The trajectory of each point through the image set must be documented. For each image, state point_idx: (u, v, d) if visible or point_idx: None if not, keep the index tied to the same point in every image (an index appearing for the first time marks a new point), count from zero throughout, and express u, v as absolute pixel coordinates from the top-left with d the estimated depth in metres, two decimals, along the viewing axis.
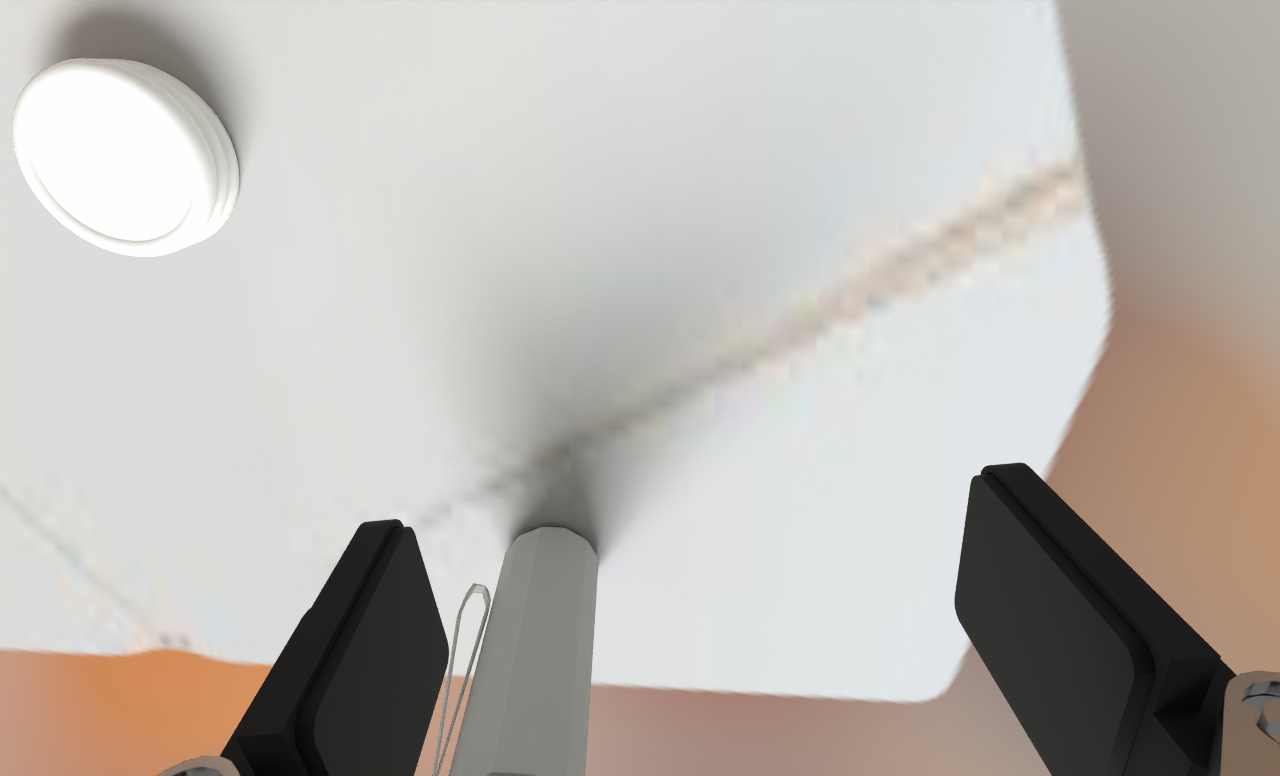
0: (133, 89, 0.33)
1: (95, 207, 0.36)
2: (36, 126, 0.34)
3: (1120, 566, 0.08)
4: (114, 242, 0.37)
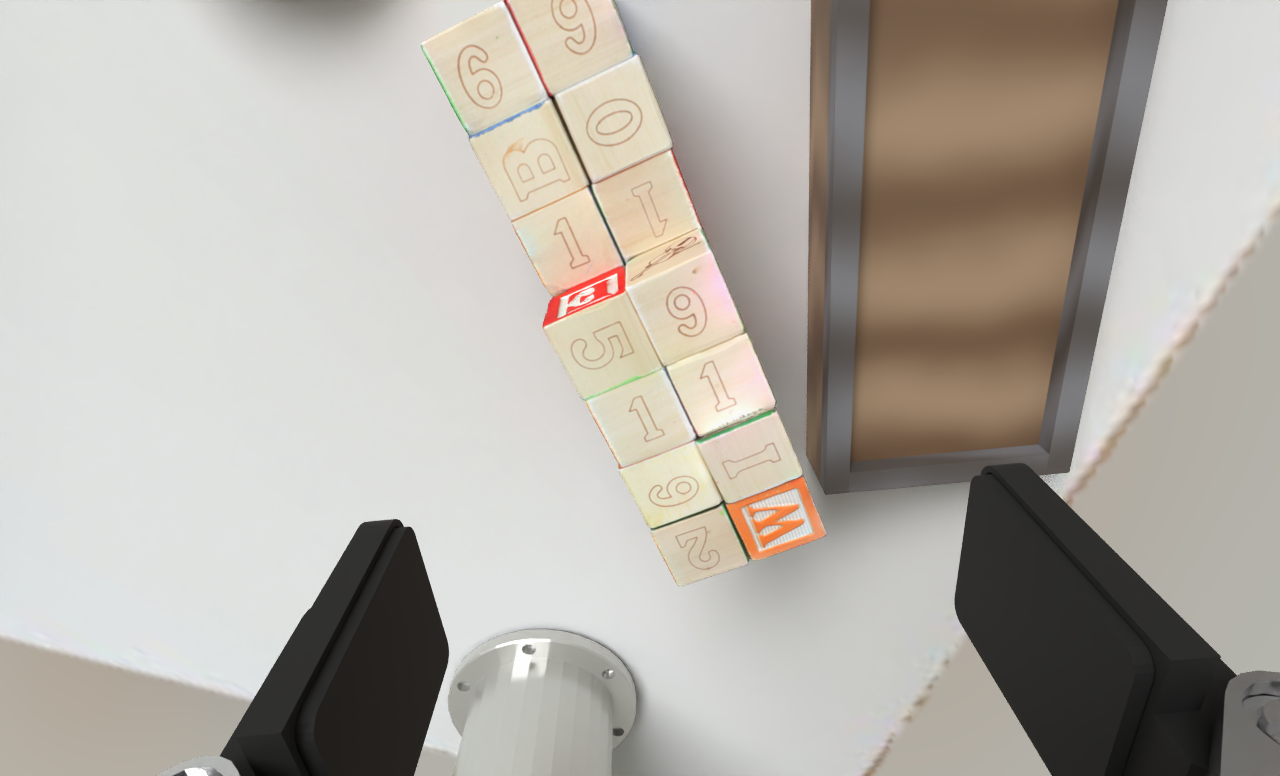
0: None
1: None
2: None
3: (1121, 566, 0.08)
4: None
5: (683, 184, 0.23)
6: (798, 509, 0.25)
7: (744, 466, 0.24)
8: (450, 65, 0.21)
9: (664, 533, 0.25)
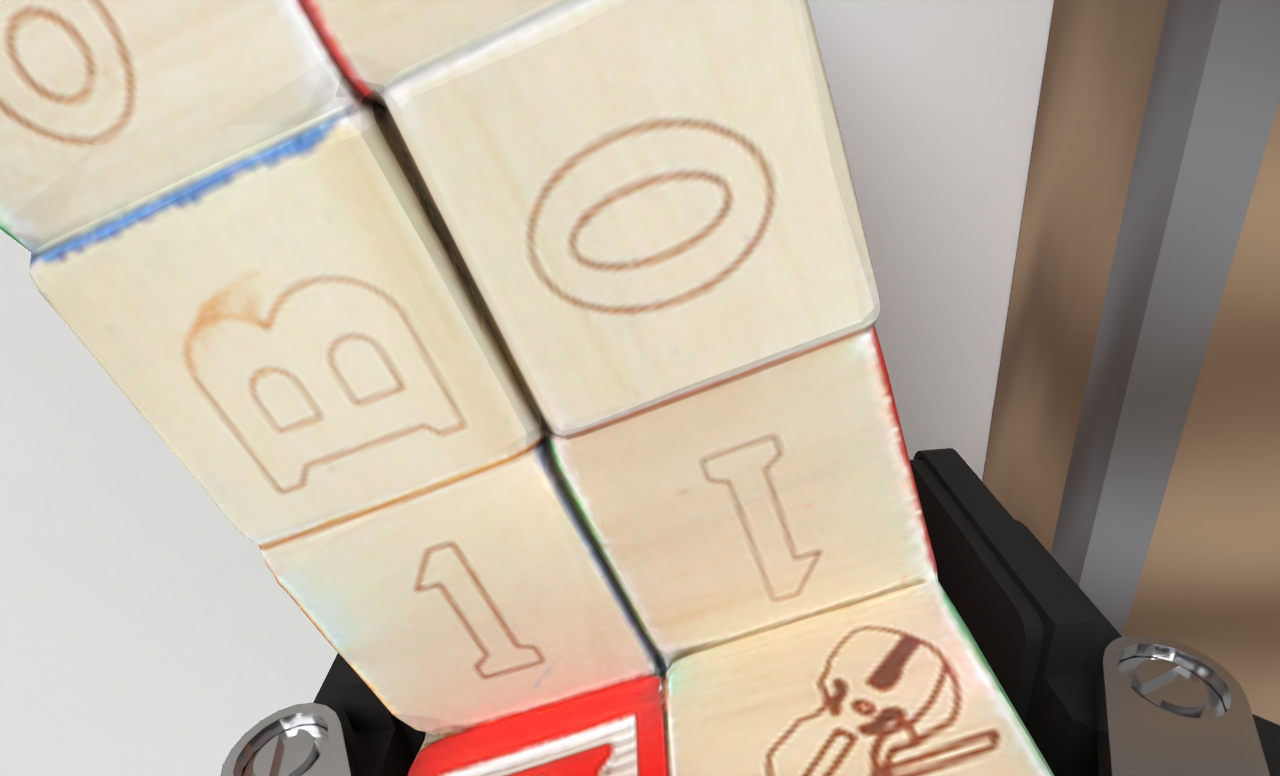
0: None
1: None
2: None
3: (1024, 541, 0.09)
4: None
5: (899, 447, 0.06)
6: None
7: None
8: None
9: None
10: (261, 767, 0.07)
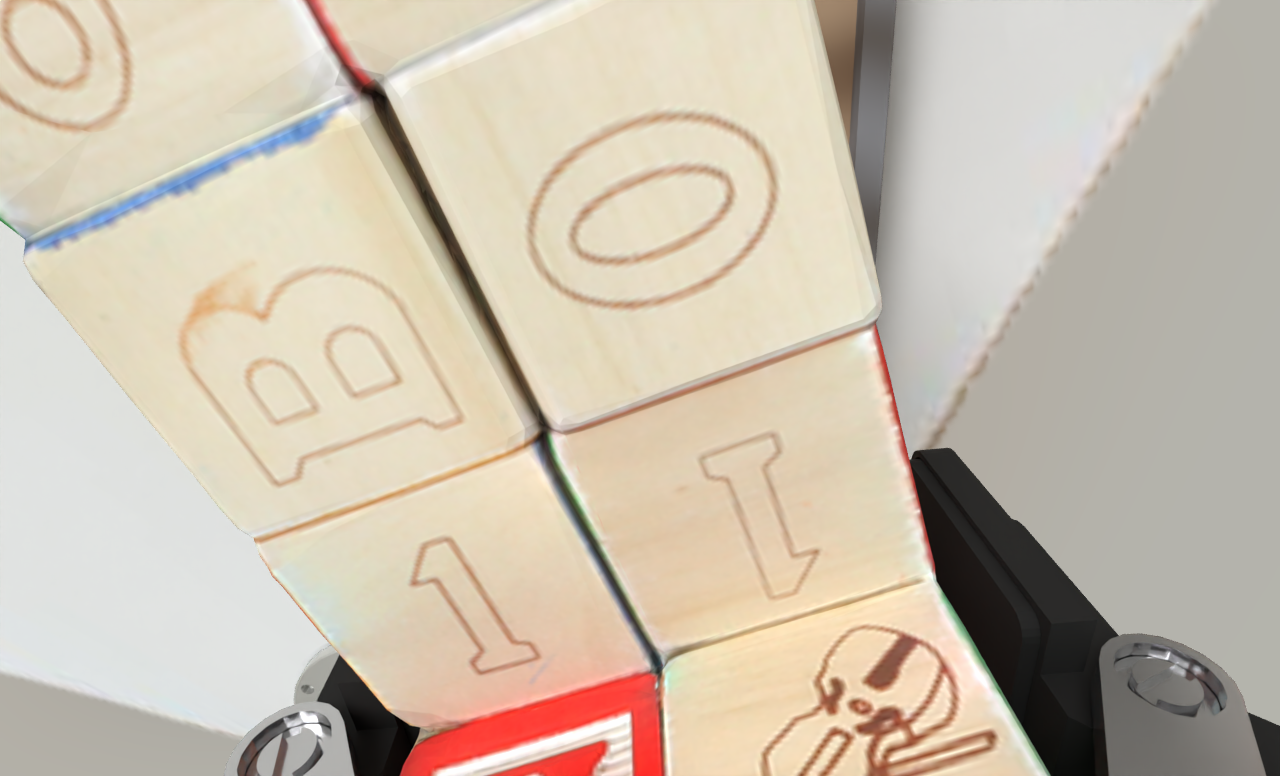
0: None
1: None
2: None
3: (1021, 540, 0.09)
4: None
5: (899, 446, 0.06)
6: None
7: None
8: None
9: None
10: (265, 765, 0.07)
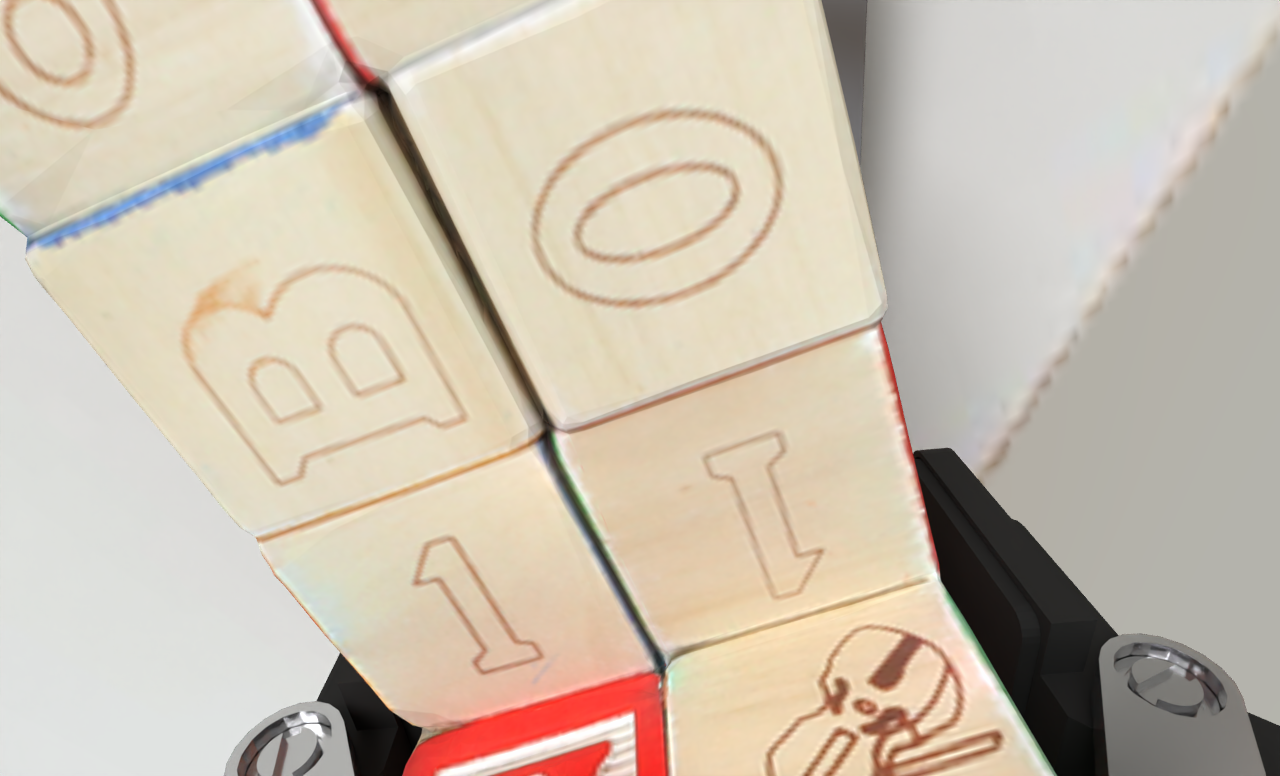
0: None
1: None
2: None
3: (1021, 540, 0.09)
4: None
5: (903, 445, 0.06)
6: None
7: None
8: None
9: None
10: (264, 765, 0.07)
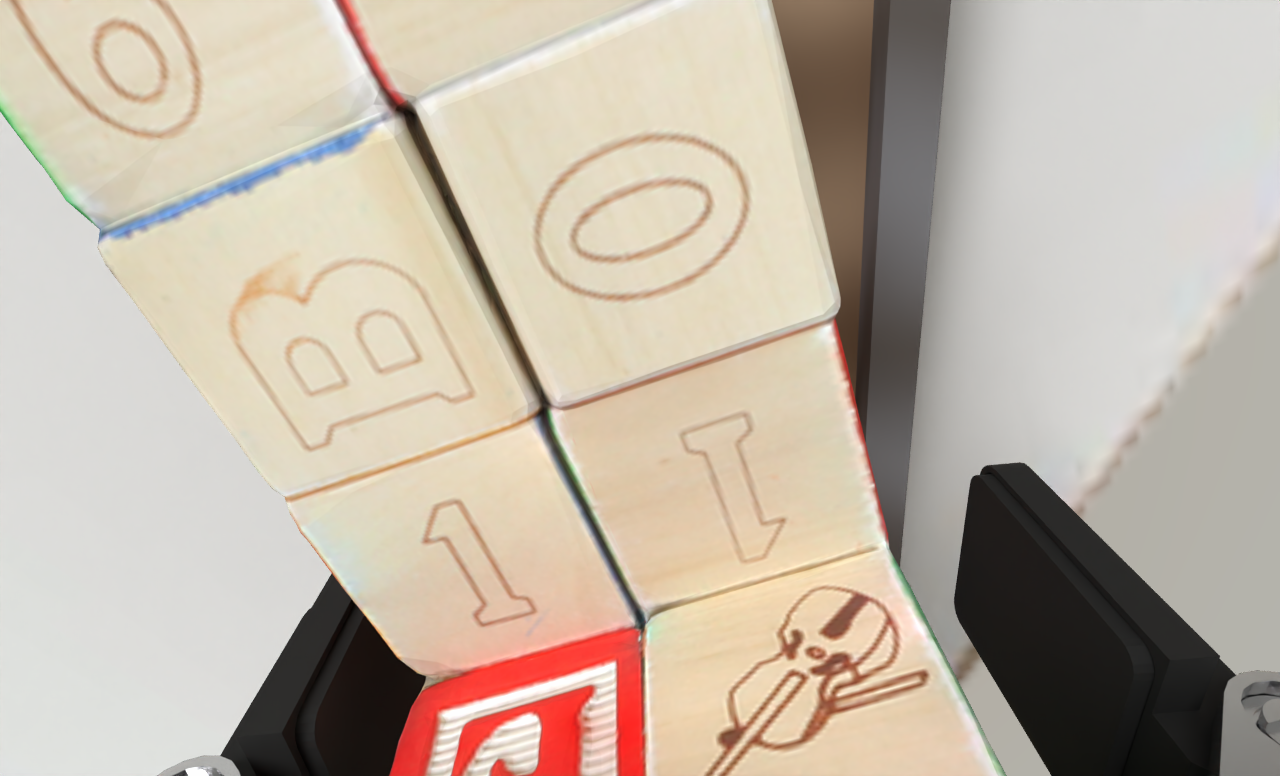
0: None
1: None
2: None
3: (1120, 566, 0.08)
4: None
5: (855, 427, 0.07)
6: None
7: None
8: None
9: None
10: None
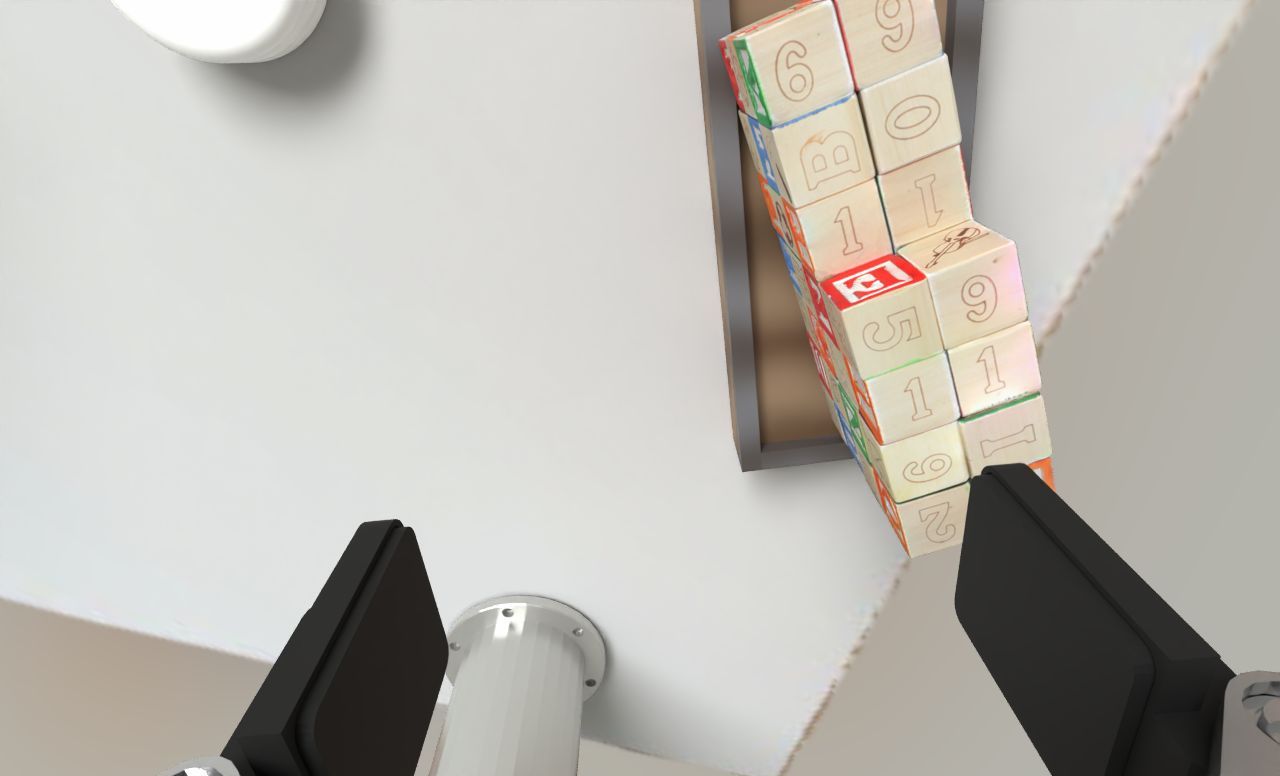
0: (227, 46, 0.31)
1: None
2: None
3: (1120, 566, 0.08)
4: None
5: (964, 177, 0.24)
6: None
7: (999, 446, 0.25)
8: (769, 59, 0.22)
9: (909, 507, 0.27)
10: None
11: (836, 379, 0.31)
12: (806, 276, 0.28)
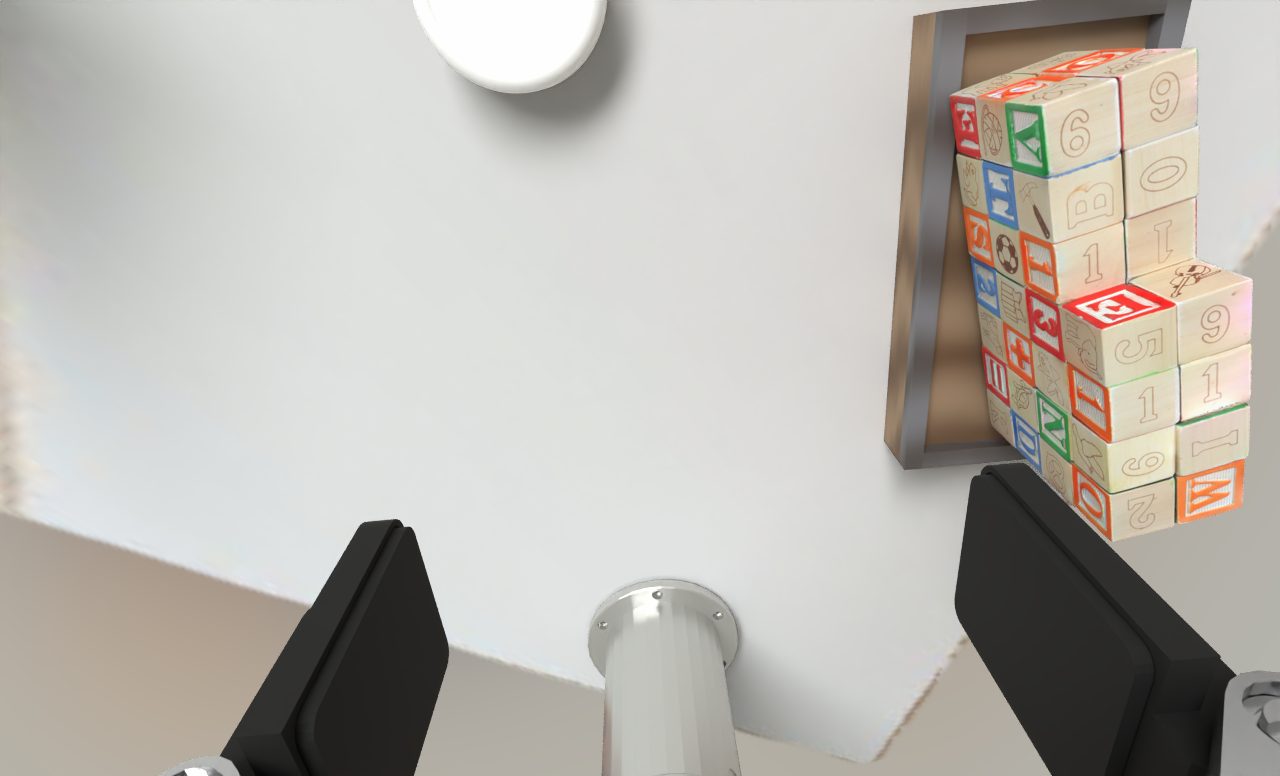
0: (522, 79, 0.35)
1: None
2: None
3: (1120, 566, 0.08)
4: None
5: (1195, 224, 0.29)
6: (1228, 484, 0.32)
7: (1207, 447, 0.30)
8: (1057, 123, 0.27)
9: (1120, 497, 0.32)
10: None
11: (1033, 388, 0.36)
12: (1029, 299, 0.33)
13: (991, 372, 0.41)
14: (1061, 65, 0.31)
